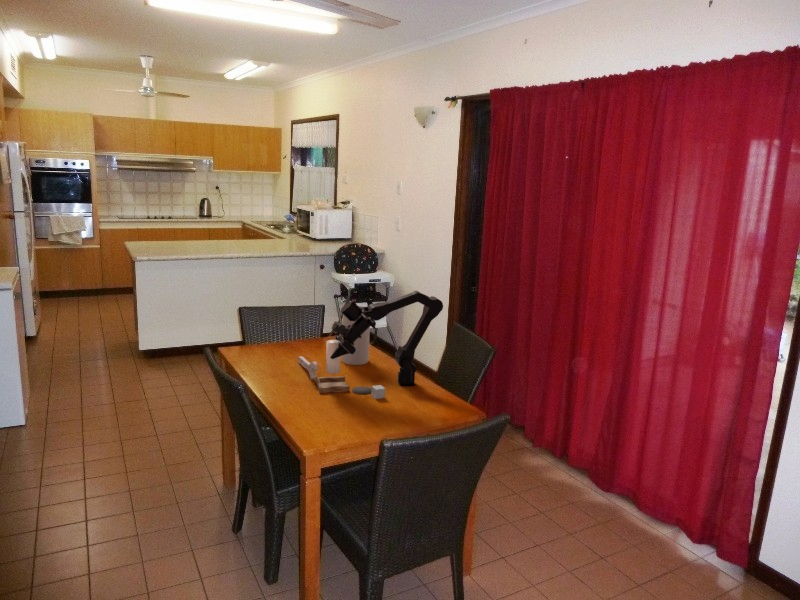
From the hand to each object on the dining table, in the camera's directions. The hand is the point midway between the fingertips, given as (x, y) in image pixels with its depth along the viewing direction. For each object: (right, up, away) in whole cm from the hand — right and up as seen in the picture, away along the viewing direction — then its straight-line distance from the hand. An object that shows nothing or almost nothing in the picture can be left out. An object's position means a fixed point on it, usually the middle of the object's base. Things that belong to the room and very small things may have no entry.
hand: (329, 356), depth 232 cm
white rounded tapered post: (+1, -6, +2) cm, 7 cm away
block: (+19, -16, -4) cm, 25 cm away
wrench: (-12, -9, +19) cm, 24 cm away
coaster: (+13, -14, +1) cm, 19 cm away
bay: (+1, -13, +3) cm, 13 cm away
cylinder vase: (+7, -6, +36) cm, 38 cm away
